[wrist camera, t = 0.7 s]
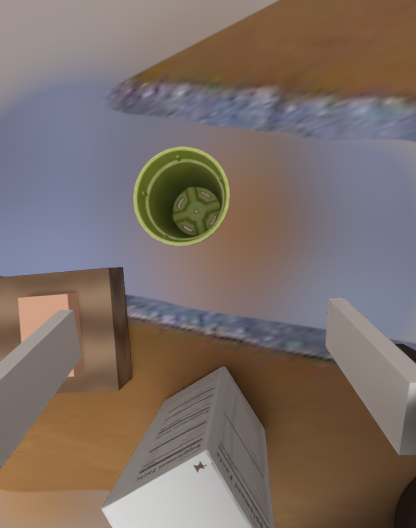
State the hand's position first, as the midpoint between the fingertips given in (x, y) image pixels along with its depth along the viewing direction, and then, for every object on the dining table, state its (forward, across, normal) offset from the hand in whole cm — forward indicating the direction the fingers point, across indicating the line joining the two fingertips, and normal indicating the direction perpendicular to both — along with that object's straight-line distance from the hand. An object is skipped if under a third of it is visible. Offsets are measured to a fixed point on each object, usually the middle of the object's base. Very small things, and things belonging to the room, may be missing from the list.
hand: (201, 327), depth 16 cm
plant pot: (+24, +1, -3) cm, 24 cm away
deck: (+22, +20, +10) cm, 31 cm away
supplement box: (+17, 0, +21) cm, 27 cm away
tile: (+18, +18, +9) cm, 27 cm away
